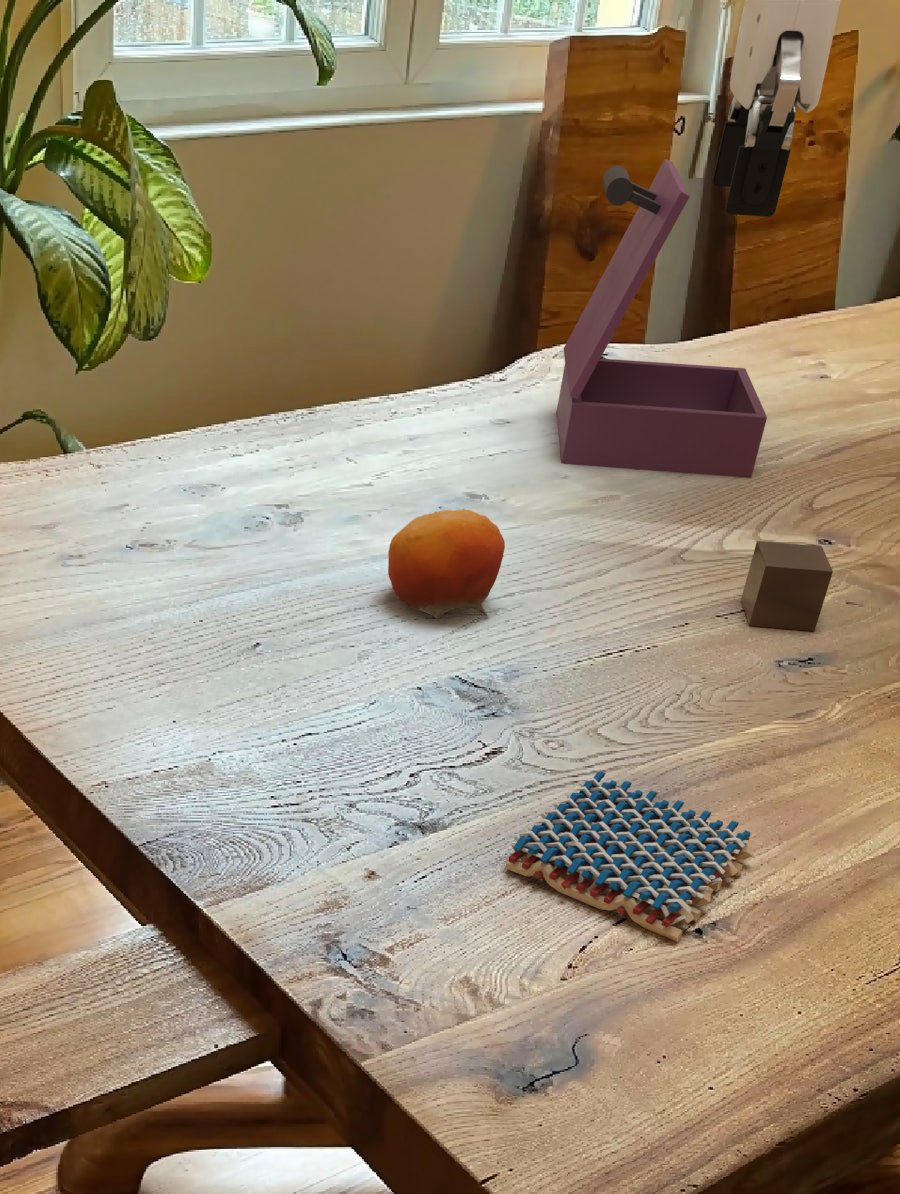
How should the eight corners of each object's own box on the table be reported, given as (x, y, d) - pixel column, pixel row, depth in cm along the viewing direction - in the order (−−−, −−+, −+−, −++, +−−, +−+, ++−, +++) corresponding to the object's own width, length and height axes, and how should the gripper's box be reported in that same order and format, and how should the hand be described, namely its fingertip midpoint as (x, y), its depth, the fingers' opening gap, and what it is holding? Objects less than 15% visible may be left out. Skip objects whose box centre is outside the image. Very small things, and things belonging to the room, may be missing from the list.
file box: (726, 445, 134) (745, 368, 130) (745, 499, 124) (767, 417, 119) (552, 432, 136) (566, 356, 132) (557, 484, 126) (572, 403, 121)
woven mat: (493, 872, 80) (498, 841, 78) (584, 794, 86) (591, 764, 85) (673, 949, 74) (682, 917, 73) (756, 860, 81) (766, 829, 80)
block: (804, 605, 107) (822, 545, 104) (814, 631, 104) (833, 571, 101) (740, 599, 108) (756, 540, 105) (748, 626, 104) (765, 565, 102)
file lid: (673, 162, 121) (616, 135, 121) (690, 196, 111) (627, 166, 110) (571, 352, 132) (517, 328, 131) (577, 399, 121) (519, 373, 121)
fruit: (437, 626, 100) (418, 506, 99) (381, 640, 107) (363, 528, 106) (537, 607, 103) (519, 491, 101) (475, 622, 110) (458, 514, 109)
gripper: (900, -93, 85) (814, 230, 96) (852, -106, 98) (781, 179, 109) (766, -98, 86) (696, 223, 97) (736, -110, 99) (677, 173, 110)
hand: (741, 199), depth 103 cm, fingers open, 9 cm apart
